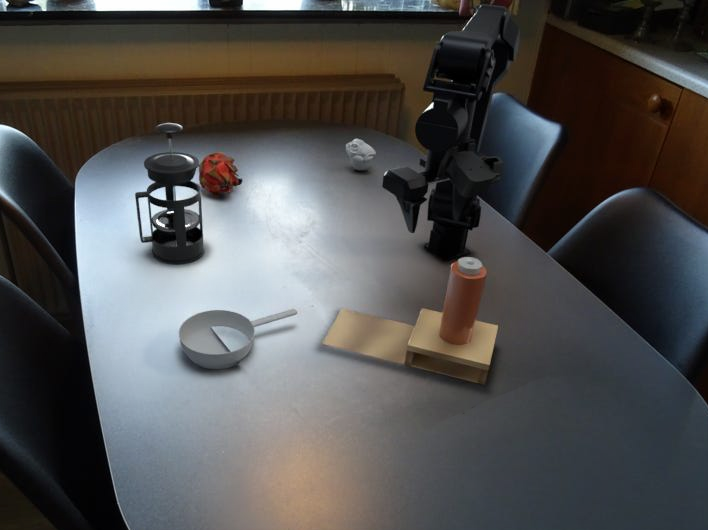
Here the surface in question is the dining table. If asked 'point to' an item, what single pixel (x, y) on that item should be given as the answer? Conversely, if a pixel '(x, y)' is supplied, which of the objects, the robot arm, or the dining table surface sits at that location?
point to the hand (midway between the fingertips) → (434, 226)
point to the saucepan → (207, 344)
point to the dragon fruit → (218, 174)
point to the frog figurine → (360, 154)
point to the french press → (173, 205)
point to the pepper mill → (462, 300)
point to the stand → (415, 343)
